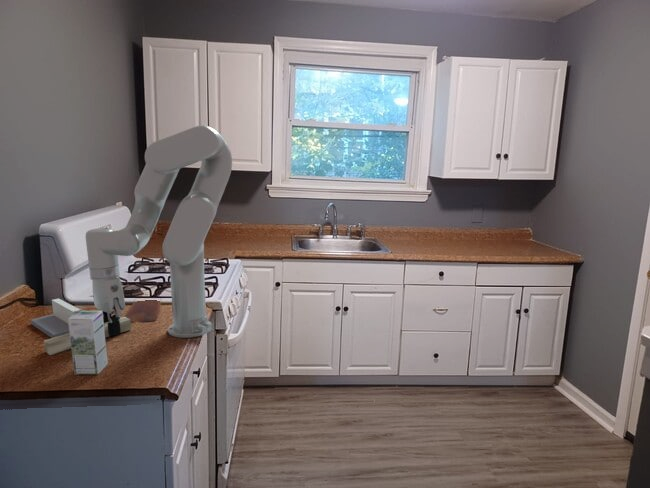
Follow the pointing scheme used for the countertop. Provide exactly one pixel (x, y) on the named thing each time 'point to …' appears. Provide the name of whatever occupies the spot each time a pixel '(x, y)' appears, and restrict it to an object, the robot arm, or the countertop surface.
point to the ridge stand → (56, 319)
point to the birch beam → (64, 341)
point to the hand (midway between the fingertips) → (111, 332)
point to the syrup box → (87, 342)
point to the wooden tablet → (144, 311)
